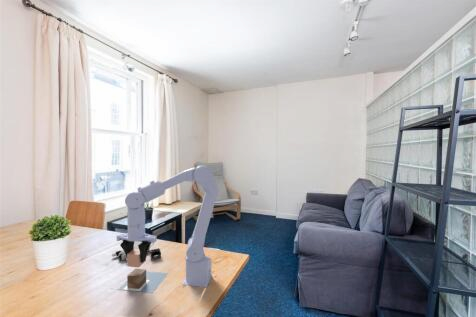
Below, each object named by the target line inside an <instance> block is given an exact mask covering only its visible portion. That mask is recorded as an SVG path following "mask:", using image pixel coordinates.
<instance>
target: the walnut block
mask: <svg viewBox="0 0 476 317" xmlns="http://www.w3.org/2000/svg"><path fill="white" fill-rule="evenodd" d="M146 271H147V269H145V268H134V269H133V270H131V272H129V273H128V274H127V275H126V276H127V278H126V280H127V281H126V282H127V288H135V289H140V287H141V286H142V285H143V284H144V283H145V282H146Z"/></svg>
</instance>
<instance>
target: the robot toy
mask: <svg viewBox="0 0 476 317" xmlns="http://www.w3.org/2000/svg"><path fill="white" fill-rule="evenodd" d="M141 243H142V242H139V241H135V242H134V248H133V249H135V248H137V249H139V247H138V245H139V244H141ZM154 244H155V243H151V245H150V247H149V249H148V251H149V250H151V247H152V246H154ZM111 256H112V257H118V260H121V261H125V260H126V262H127V257H126V254H125V252H124V250H123V249H121V250H118V251H115V252H114V253H112V254H111Z"/></svg>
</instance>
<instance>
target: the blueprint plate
mask: <svg viewBox="0 0 476 317" xmlns="http://www.w3.org/2000/svg"><path fill="white" fill-rule="evenodd" d="M168 274H169V273H167V272H157V271H147V270H146V282H145V283H144V284H143V285H142V286H141V287H140V289H135V288H127V281H125V282H124V283H123V284H122V285H121V286H120V287H119V288H118V289H117V291H128V292H135V293H144V294H145V293H148V294H153V293H154V292H155V291H156V290H157V288H158V287H159V285H161V284H162V282H163V280H164V279H166V277H167V276H168Z"/></svg>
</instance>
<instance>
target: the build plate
mask: <svg viewBox="0 0 476 317" xmlns="http://www.w3.org/2000/svg"><path fill="white" fill-rule="evenodd" d="M161 252H162V251H161V250H160V248H159V247H158V248H153V249H150V254H149V255H150V260H151V261H155V260H160V259H161V257H162V253H161Z"/></svg>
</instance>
